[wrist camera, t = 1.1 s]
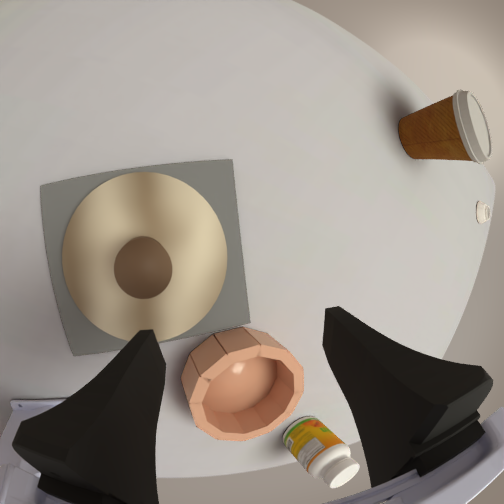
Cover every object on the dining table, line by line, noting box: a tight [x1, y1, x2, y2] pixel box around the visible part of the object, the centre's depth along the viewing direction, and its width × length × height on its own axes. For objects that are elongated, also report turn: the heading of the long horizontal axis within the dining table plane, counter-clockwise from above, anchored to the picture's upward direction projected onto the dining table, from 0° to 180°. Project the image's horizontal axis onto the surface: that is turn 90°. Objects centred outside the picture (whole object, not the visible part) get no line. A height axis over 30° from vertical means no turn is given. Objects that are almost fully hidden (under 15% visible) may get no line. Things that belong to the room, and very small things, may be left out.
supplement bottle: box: [283, 416, 359, 488], centre depth 24 cm, size 5×5×10 cm
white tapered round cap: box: [476, 201, 490, 224], centre depth 42 cm, size 5×3×5 cm
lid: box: [62, 172, 227, 342], centre depth 17 cm, size 13×13×5 cm
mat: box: [40, 159, 251, 356], centre depth 20 cm, size 16×14×1 cm
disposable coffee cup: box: [399, 90, 492, 164], centre depth 25 cm, size 10×10×12 cm
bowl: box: [181, 327, 304, 441], centre depth 22 cm, size 10×10×4 cm
